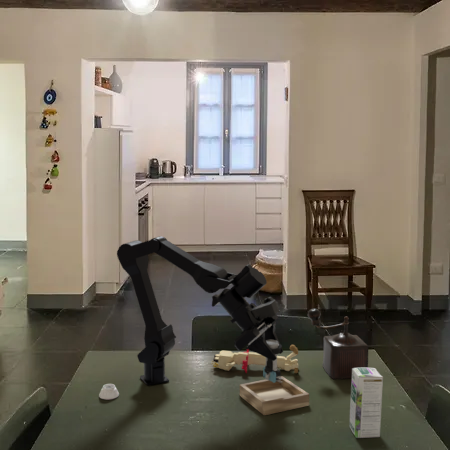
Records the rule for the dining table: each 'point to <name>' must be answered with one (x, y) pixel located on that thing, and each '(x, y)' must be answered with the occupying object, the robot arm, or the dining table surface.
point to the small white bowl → (109, 392)
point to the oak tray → (274, 395)
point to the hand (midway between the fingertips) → (278, 356)
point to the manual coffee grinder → (341, 349)
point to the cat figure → (253, 360)
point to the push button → (272, 363)
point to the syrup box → (366, 402)
